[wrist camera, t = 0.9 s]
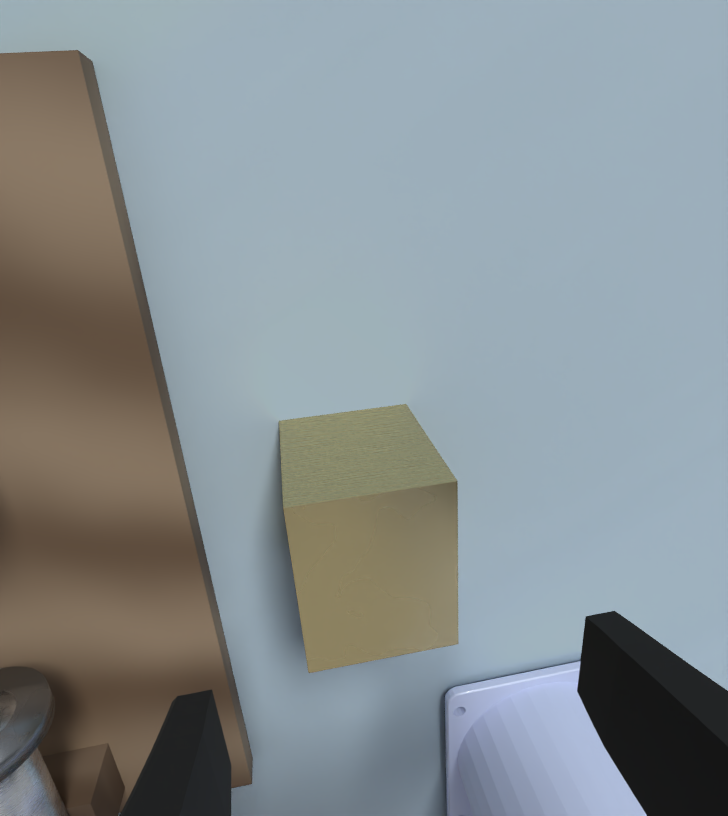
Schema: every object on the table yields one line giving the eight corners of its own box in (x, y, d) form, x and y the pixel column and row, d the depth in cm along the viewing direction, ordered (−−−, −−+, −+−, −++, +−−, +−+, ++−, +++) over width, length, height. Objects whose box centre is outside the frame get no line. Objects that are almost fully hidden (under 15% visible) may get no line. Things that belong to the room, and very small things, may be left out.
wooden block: (411, 534, 19) (458, 643, 14) (298, 552, 18) (308, 673, 14) (405, 403, 17) (457, 480, 12) (278, 420, 16) (283, 508, 12)
